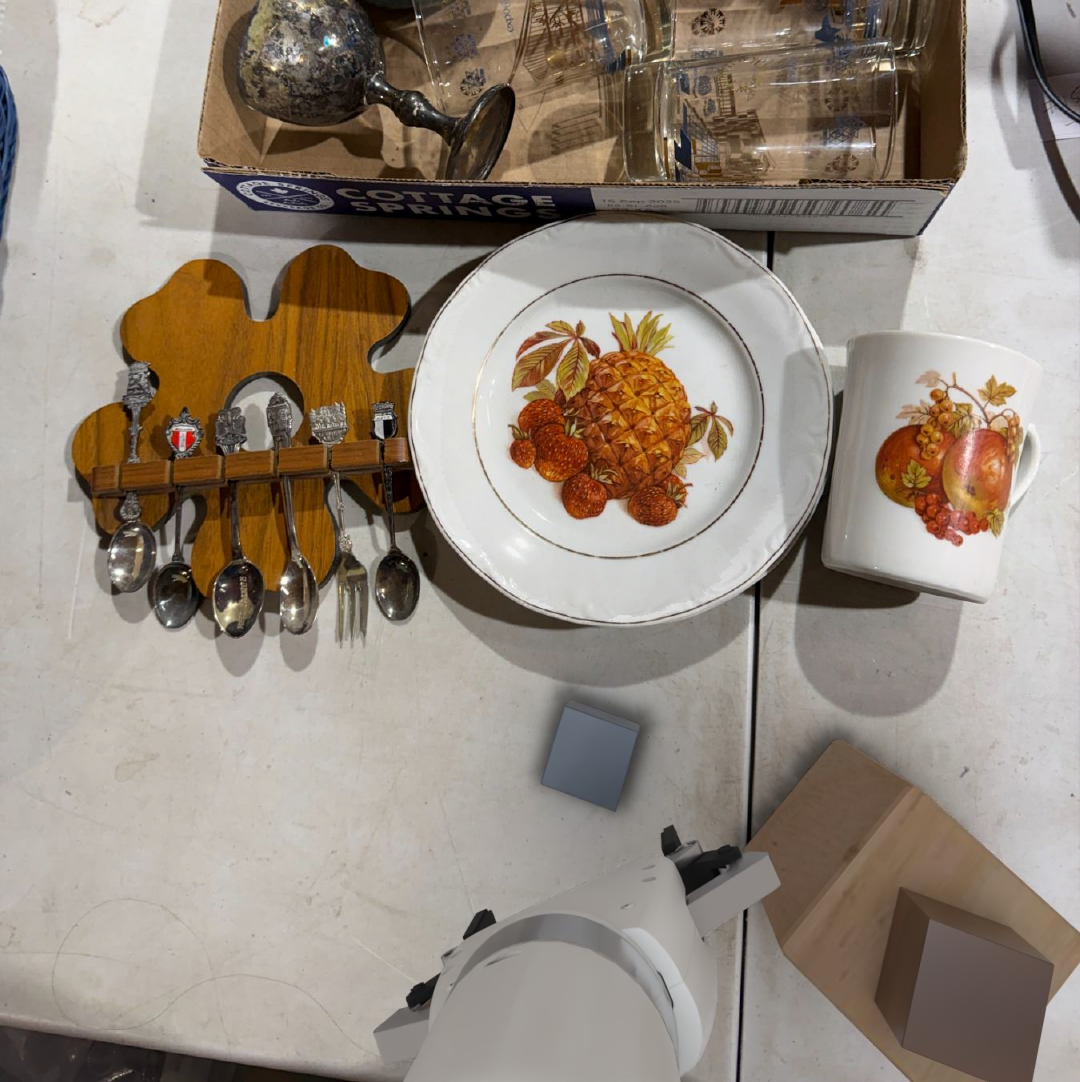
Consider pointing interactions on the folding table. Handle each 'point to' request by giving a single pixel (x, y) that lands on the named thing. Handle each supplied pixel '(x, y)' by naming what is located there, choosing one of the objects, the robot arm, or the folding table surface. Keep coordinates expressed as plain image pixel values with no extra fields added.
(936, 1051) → the walnut cube
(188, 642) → the folding table surface
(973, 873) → the wooden block
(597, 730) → the slate cube
